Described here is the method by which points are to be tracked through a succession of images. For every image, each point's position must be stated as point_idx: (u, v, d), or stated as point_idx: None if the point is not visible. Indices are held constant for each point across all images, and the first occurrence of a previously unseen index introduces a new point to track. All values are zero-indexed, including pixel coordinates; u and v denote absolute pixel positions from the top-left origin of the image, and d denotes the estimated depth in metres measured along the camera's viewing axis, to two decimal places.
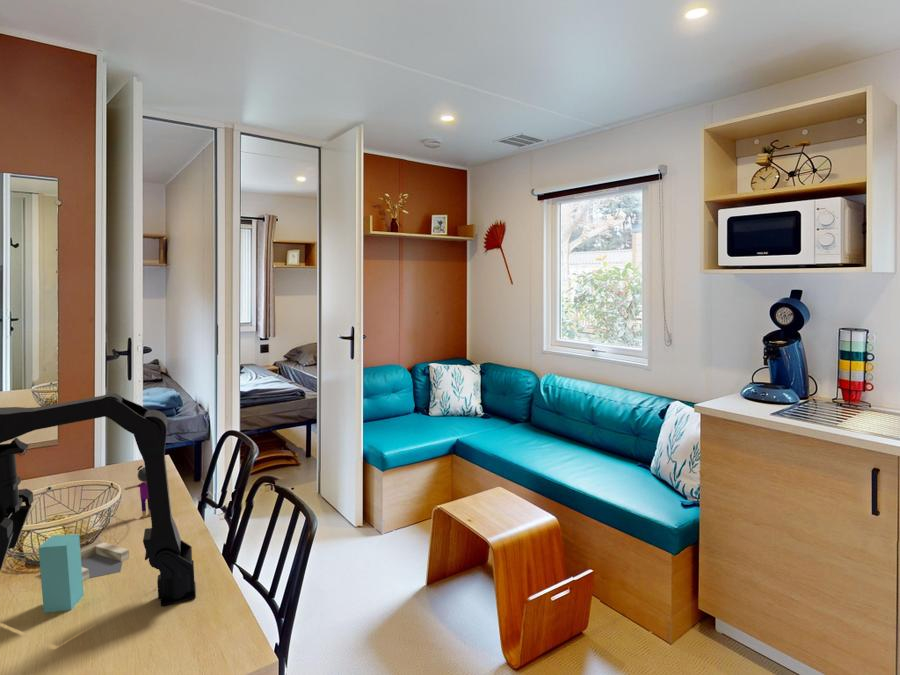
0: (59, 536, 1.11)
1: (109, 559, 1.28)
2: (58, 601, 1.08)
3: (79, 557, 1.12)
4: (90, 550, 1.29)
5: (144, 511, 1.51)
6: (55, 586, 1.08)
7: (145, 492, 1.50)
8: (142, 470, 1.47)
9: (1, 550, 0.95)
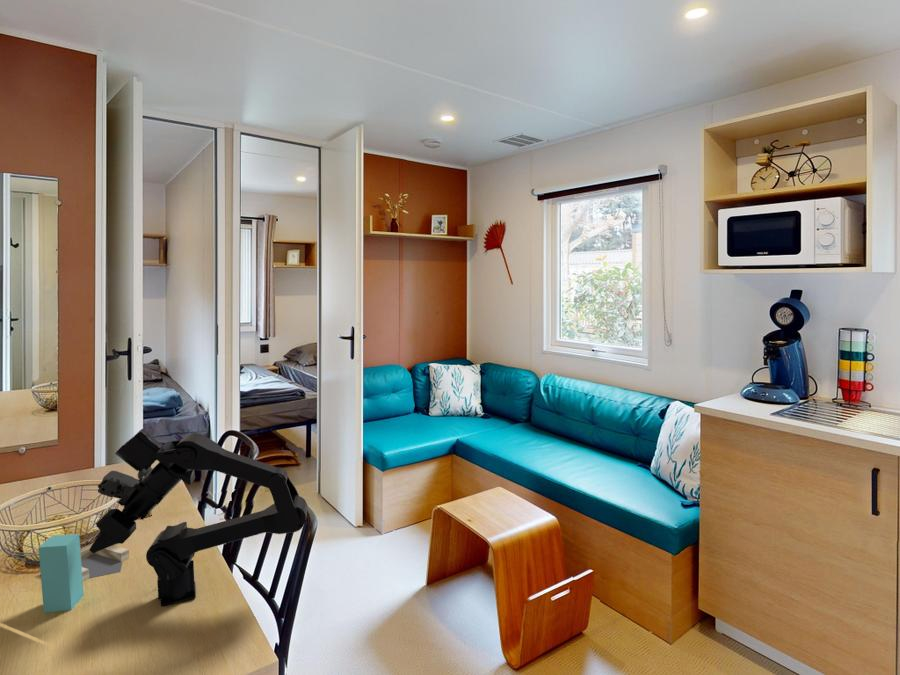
0: (59, 536, 1.11)
1: (109, 559, 1.28)
2: (58, 601, 1.08)
3: (79, 557, 1.12)
4: None
5: None
6: (55, 586, 1.08)
7: None
8: (142, 470, 1.47)
9: (109, 543, 1.05)
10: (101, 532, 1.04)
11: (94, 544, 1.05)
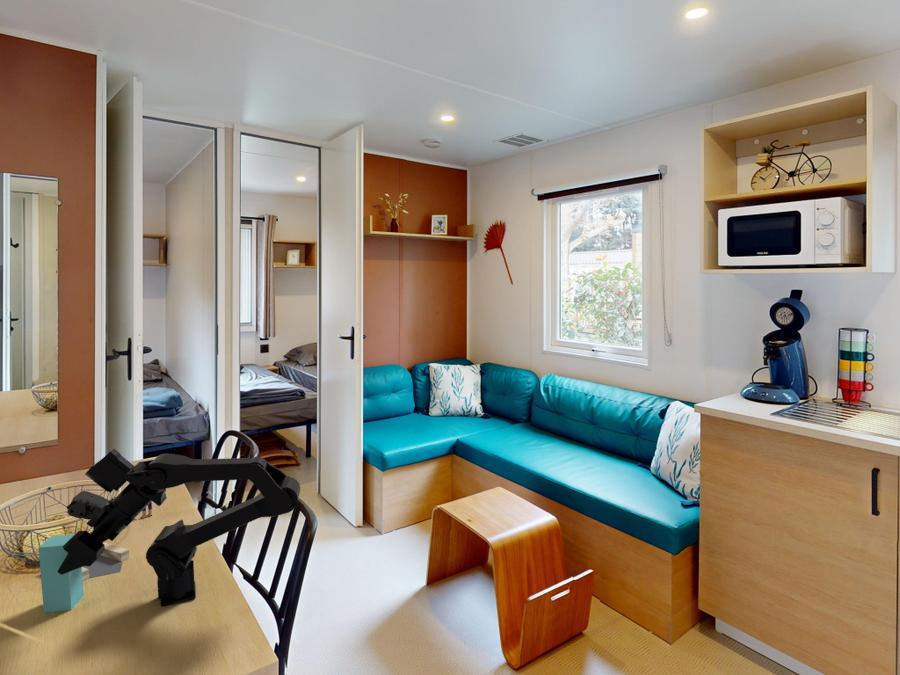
0: (59, 536, 1.11)
1: (109, 559, 1.28)
2: (58, 601, 1.08)
3: None
4: None
5: (144, 511, 1.51)
6: (55, 586, 1.08)
7: None
8: None
9: (77, 565, 1.04)
10: (69, 554, 1.04)
11: (62, 566, 1.05)
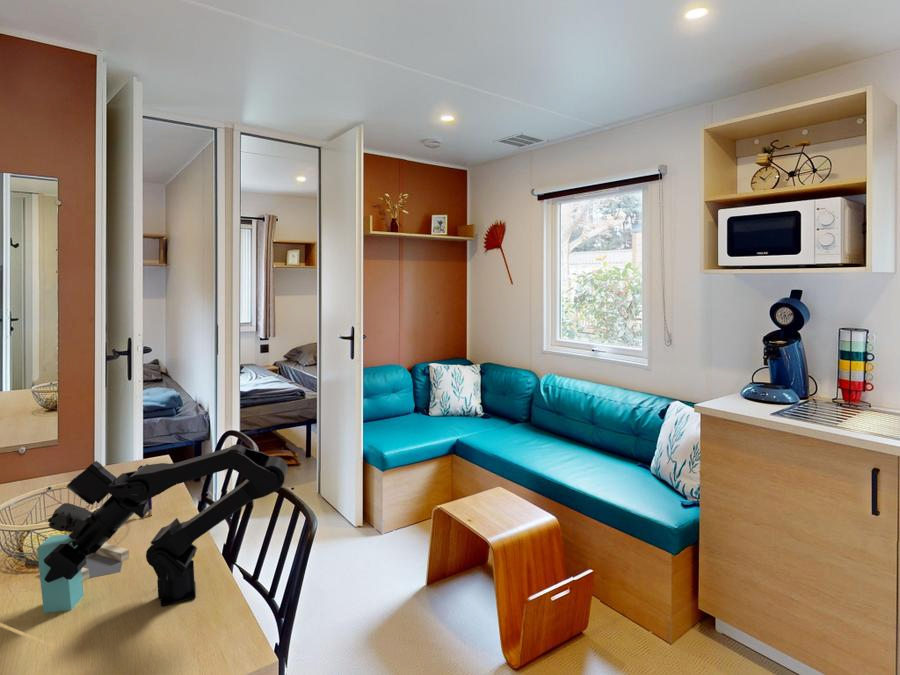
0: (58, 536, 1.11)
1: (109, 559, 1.28)
2: (58, 601, 1.08)
3: None
4: None
5: None
6: (55, 586, 1.07)
7: None
8: None
9: None
10: None
11: (49, 574, 1.06)
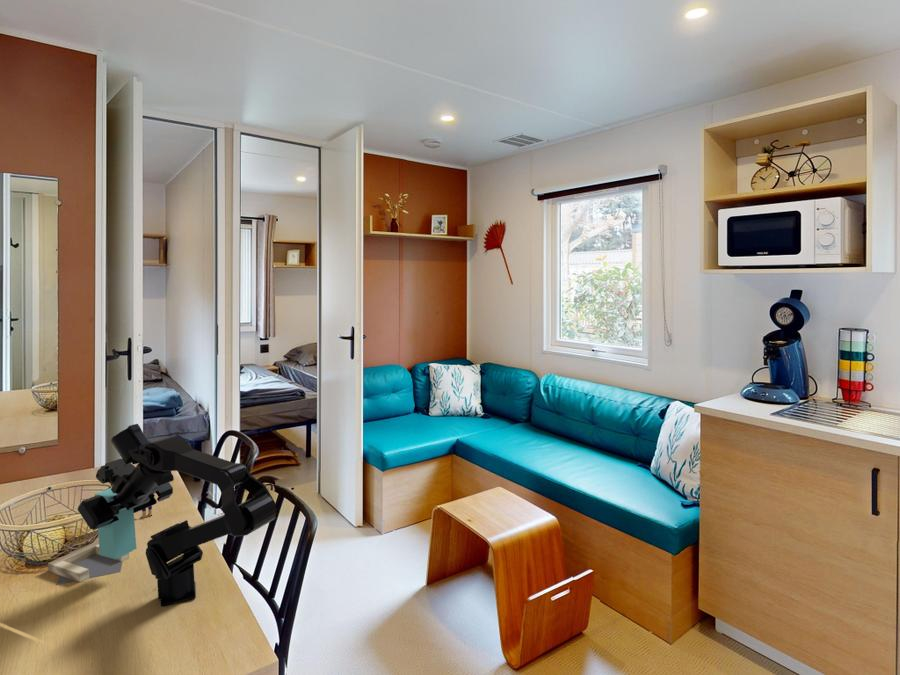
0: None
1: (109, 559, 1.28)
2: (107, 546, 1.18)
3: (131, 510, 1.21)
4: (90, 550, 1.29)
5: (144, 511, 1.51)
6: (105, 532, 1.18)
7: None
8: None
9: None
10: None
11: None
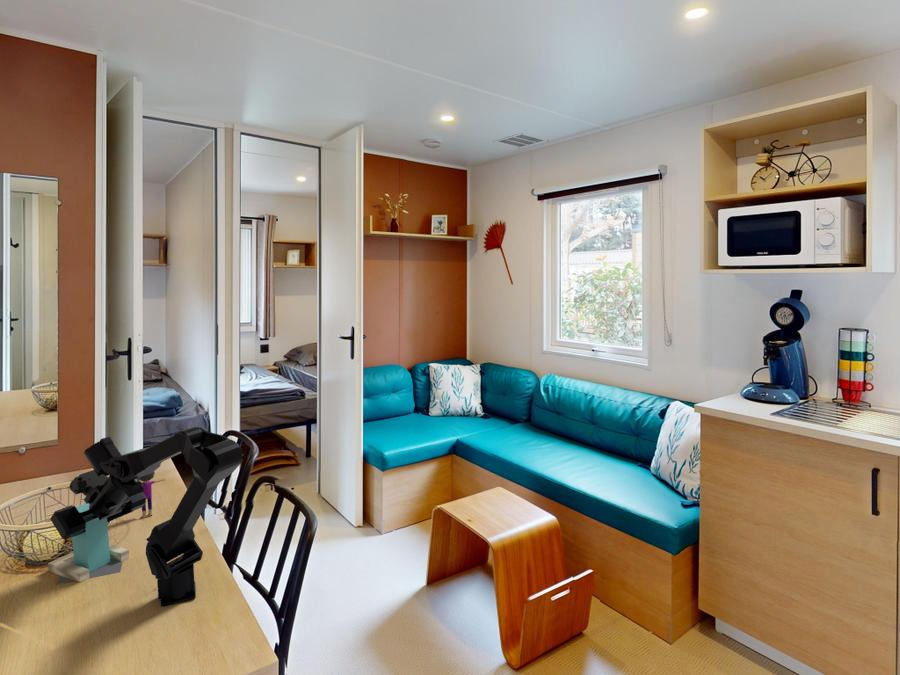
0: None
1: None
2: (82, 560, 1.23)
3: (105, 525, 1.25)
4: None
5: (144, 511, 1.51)
6: (79, 546, 1.22)
7: (145, 492, 1.50)
8: None
9: None
10: None
11: None
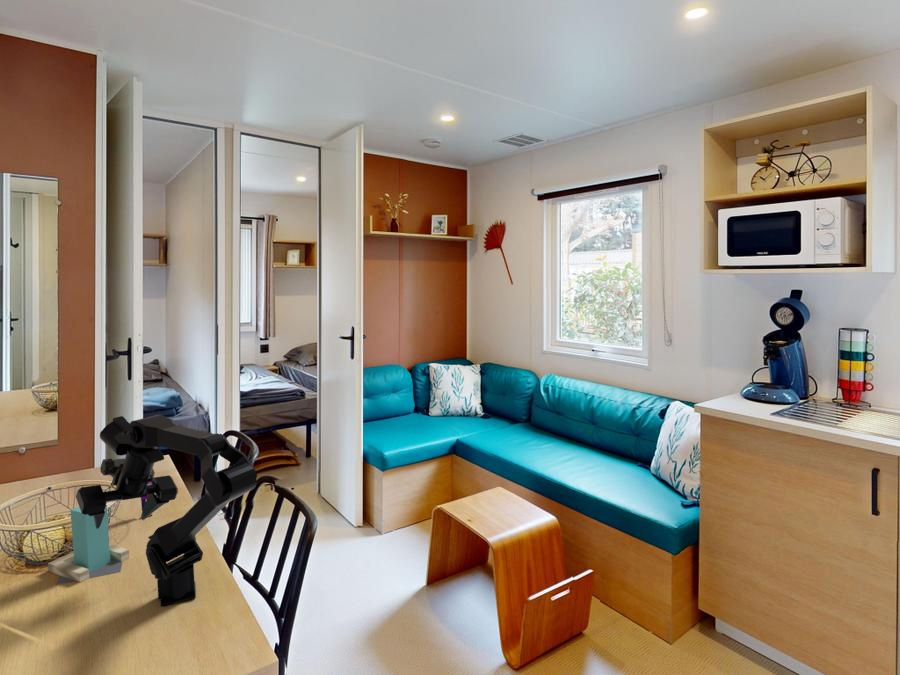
0: None
1: None
2: (82, 560, 1.23)
3: (106, 525, 1.25)
4: None
5: None
6: (80, 547, 1.22)
7: None
8: None
9: None
10: None
11: (94, 519, 1.16)
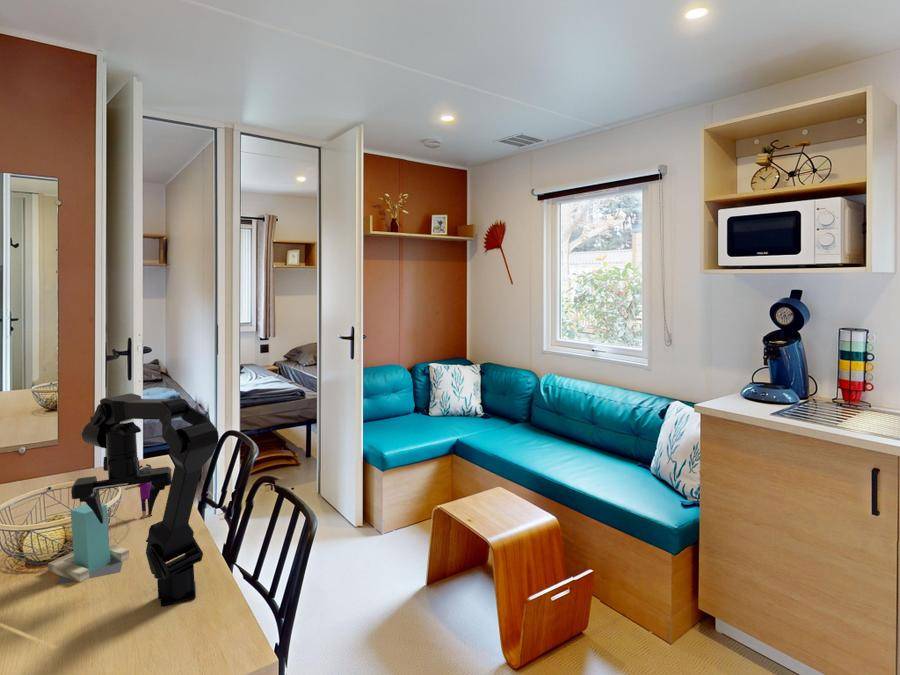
0: None
1: None
2: (82, 560, 1.23)
3: (106, 525, 1.25)
4: None
5: (144, 511, 1.51)
6: (80, 547, 1.22)
7: (145, 492, 1.50)
8: (142, 470, 1.47)
9: None
10: None
11: None
